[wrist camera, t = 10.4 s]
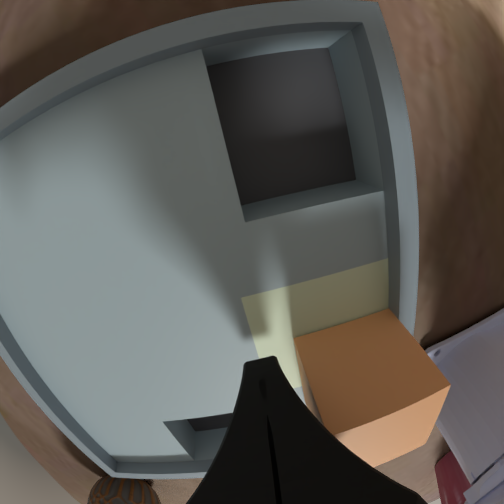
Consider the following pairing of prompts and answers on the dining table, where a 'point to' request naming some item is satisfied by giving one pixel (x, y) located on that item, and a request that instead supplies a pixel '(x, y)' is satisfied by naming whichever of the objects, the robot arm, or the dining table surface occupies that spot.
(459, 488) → the plant pot
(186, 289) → the box
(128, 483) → the vase
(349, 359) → the block
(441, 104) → the dining table surface
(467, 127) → the dining table surface
